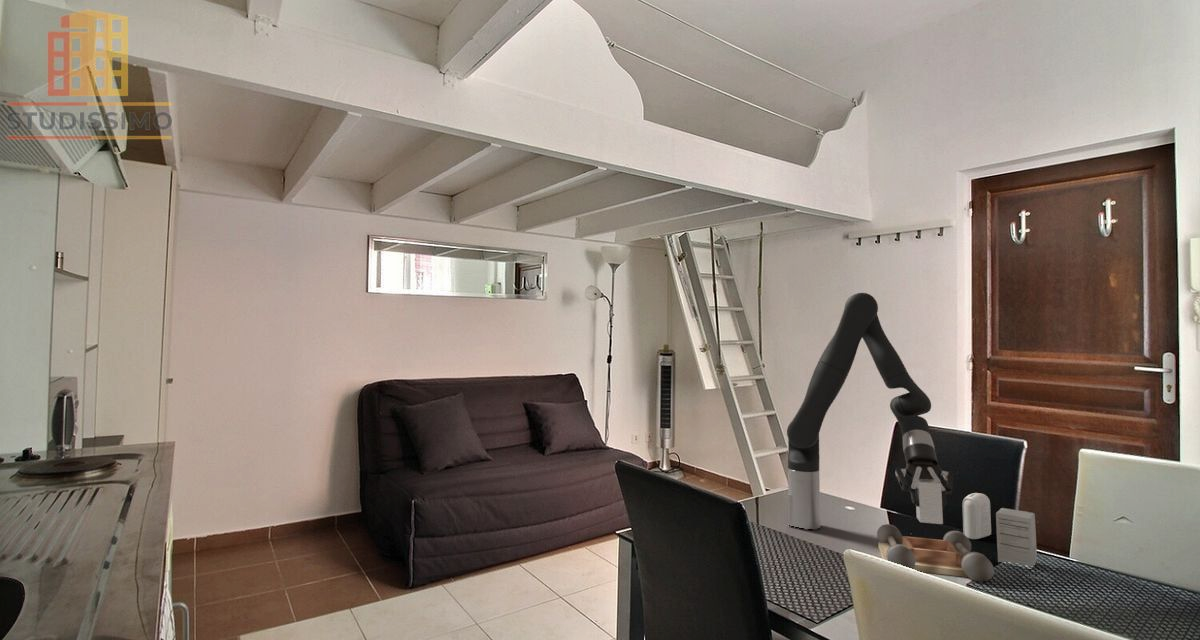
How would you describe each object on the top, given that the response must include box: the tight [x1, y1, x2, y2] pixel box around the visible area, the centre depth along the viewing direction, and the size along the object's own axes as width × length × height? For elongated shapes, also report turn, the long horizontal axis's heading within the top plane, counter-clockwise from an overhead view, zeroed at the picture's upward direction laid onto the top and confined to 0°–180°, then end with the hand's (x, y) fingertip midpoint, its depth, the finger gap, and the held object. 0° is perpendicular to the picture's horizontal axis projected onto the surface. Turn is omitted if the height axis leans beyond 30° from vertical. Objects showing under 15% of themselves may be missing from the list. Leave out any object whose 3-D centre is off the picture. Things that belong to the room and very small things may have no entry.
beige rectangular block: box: [915, 479, 944, 525], centre depth 145 cm, size 5×5×10 cm
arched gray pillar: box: [962, 492, 992, 540], centre depth 167 cm, size 10×4×12 cm, turn 123°
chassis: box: [876, 523, 995, 583], centre depth 144 cm, size 22×21×6 cm
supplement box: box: [995, 507, 1038, 566], centre depth 145 cm, size 7×7×13 cm
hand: (930, 505), depth 143 cm, fingers closed on beige rectangular block, 5 cm apart
